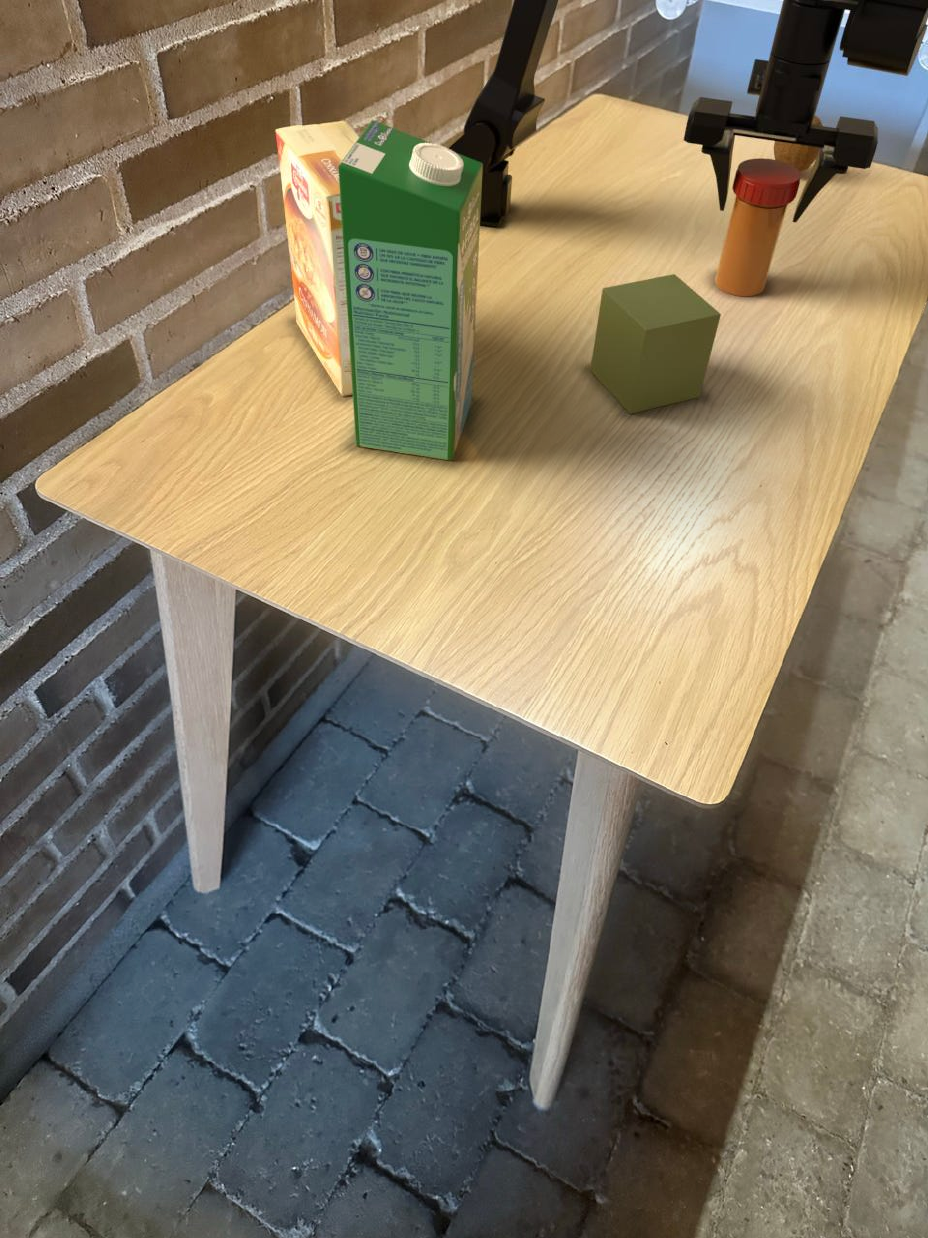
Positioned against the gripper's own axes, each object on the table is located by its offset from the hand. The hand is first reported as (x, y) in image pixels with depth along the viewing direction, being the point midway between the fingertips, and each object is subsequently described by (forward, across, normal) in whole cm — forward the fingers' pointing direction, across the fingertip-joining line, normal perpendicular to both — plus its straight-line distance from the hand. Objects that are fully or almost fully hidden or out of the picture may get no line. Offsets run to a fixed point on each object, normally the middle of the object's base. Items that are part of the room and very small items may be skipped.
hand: (758, 214), depth 102 cm
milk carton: (+8, +26, +38) cm, 47 cm away
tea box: (+8, +7, +24) cm, 26 cm away
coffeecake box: (+8, +37, +28) cm, 47 cm away
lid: (-4, 0, 0) cm, 4 cm away
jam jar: (+8, 0, 0) cm, 8 cm away
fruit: (+8, -4, -34) cm, 35 cm away
